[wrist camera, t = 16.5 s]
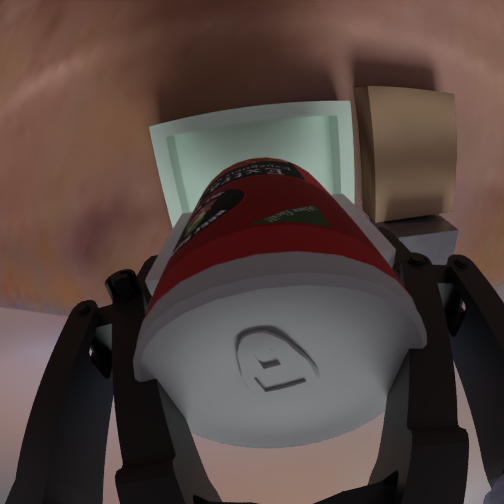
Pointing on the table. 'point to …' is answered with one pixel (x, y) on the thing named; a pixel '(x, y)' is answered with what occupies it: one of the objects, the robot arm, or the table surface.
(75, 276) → the table surface
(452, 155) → the tan block
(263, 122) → the tray
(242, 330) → the canned food
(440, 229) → the bench dog
